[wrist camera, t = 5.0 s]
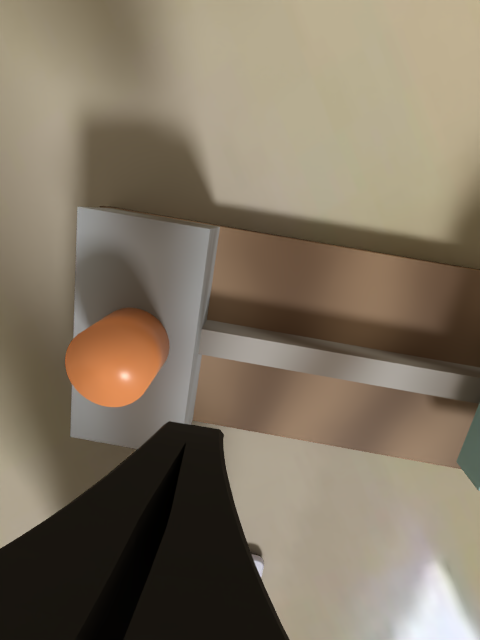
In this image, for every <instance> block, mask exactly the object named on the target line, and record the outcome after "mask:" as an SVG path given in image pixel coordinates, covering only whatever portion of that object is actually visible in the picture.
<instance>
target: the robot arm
mask: <svg viewBox="0 0 480 640" xmlns="http://www.w3.org/2000/svg"><path fill="white" fill-rule="evenodd" d="M223 437H224V434H223V433H222V432H221V430H219V429H213V428H207V427H201V426H195V425H189V424H183V423H177V422H171V421H169V422H167V423H166V424H164V425H163V426H162V427H161V428H160V429H159V430H158V431H157V432H156V433H155V434H154V435H153V436H151V437H150V438H149V439H148V440H147V441H146V442H145V443H144V444H143V445H142V446H141V447H139V448H138V449H137V450H136V451H135V452H134V453H133V454H132V455H130V456H129V457H128V458H127V459H126V460H124V461H123V462H122V463H121V464H120V465H118V466H117V467H116V468H115V469H114V470H113V471H111V472H110V473H109V474H108V475H106V476H105V477H104V478H103V479H101V480H100V481H99V482H97V483H96V484H95V485H93V486H92V487H91V488H89V489H88V490H87V491H85V492H84V493H83V494H81V495H80V496H79V497H78V498H76V499H75V500H74V501H72V502H71V503H69V504H68V505H67V506H65V507H64V508H62V509H61V510H59V511H58V512H57V513H55V514H54V515H52V516H51V517H49V518H48V519H46V520H45V521H43V522H42V523H40V524H39V525H37V526H36V527H34V528H33V529H31V530H30V531H28V532H26V533H25V534H23V535H22V536H20V537H19V538H17V539H15V540H14V541H12V542H11V543H9V544H7V545H6V546H4V547H2V548H0V640H289V638H288V636H287V634H286V632H285V630H284V628H283V626H282V624H281V622H280V620H279V618H278V616H277V613H276V611H275V609H274V607H273V604H272V602H271V600H270V598H269V596H268V593H267V591H266V589H265V587H264V584H263V582H262V579H261V576H262V572H263V568H264V560H263V559H262V558H261V557H260V556H258V555H253V554H251V552H250V549H249V547H248V544H247V541H246V538H245V535H244V532H243V529H242V526H241V523H240V520H239V517H238V514H237V510H236V507H235V504H234V500H233V496H232V492H231V488H230V484H229V480H228V475H227V471H226V465H225V459H224V450H223Z"/></svg>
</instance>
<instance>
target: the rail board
mask: <svg viewBox="0 0 480 640" xmlns="http://www.w3.org/2000/svg"><path fill="white" fill-rule="evenodd" d="M122 308H137V309H141V310H144V311H146V312H148V313H150V314H152V315H153V316H154V317H156V318H157V319H158V320H159V321H160V322H161V324H162V325H163V326H164V328H165V330H166V332H167V335H168V338H169V345H170V346H169V354H168V357H167V359H166V361H165V363H164V365H163V366H162V367H161V369H160V370H159V372H158V373H157V375H156V376H155V378H154V379H153V381H152V382H151V384H150V385H149V387H148V388H147V389H146V391H145V392H144V394H143V395H142V396H141V397H140V398H139V399H137V400H136V401H135V402H133V403H131V404H128V405H126V406H122V407H106V406H101V405H98V404H95V403H93V402H91V401H89V400H88V399H86V398H85V397H83V396H82V395H81V394H80V393H79V392H78V391H77V390H76V389H75V387H74V386H73V385H72V400H71V432H70V437H74V438H79V439H85V440H90V441H96V442H101V443H107V444H112V445H118V446H123V447H129V448H134V449H138V448H139V447H141V446H142V445H143V444H144V443H145V442H146V441H147V440H148V439H149V438H150V437H151V436H153V435H154V434H155V433H156V432H157V431H158V430H159V429H160V428H161V427H162V426H163V425H164V424H166V423H167V422H169V421H171V422H177V423H183V424H189V425H191V423H192V421H199V422H204V423H210V424H215V425H221V426H226V427H232V428H237V429H243V430H248V431H254V432H259V433H265V434H270V435H276V436H282V437H287V438H293V439H298V440H304V441H309V442H315V443H320V444H326V445H331V446H337V447H342V448H348V449H353V450H359V451H364V452H370V453H375V454H381V455H386V456H392V457H397V458H403V459H409V460H414V461H420V462H425V463H431V464H436V465H442V466H447V467H453V468H458V469H461V467H460V466H459V465H458V463H457V462H456V461H457V459H458V456H459V454H460V451H461V448H462V446H463V443H464V441H465V438H466V436H467V433H468V431H469V428H470V426H471V423H472V421H473V418H474V416H475V413H476V411H477V408H478V405H479V403H480V270H478V269H473V268H467V267H461V266H455V265H449V264H443V263H437V262H431V261H426V260H420V259H414V258H408V257H402V256H396V255H390V254H384V253H379V252H373V251H367V250H361V249H355V248H349V247H343V246H337V245H332V244H326V243H320V242H314V241H308V240H302V239H296V238H290V237H285V236H279V235H273V234H267V233H261V232H255V231H249V230H243V229H237V228H232V227H226V226H220V225H214V224H208V223H202V222H196V221H190V220H185V219H179V218H173V217H167V216H161V215H155V214H149V213H143V212H138V211H132V210H126V209H120V208H114V207H106V206H100V208H99V207H77V239H76V271H75V303H74V335H73V339H74V338H75V337H76V336H77V335H78V334H79V333H81V332H82V331H84V330H85V329H87V328H88V327H90V326H92V325H93V324H95V323H96V322H98V321H99V320H101V319H103V318H104V317H106V316H107V315H109V314H110V313H112V312H114V311H116V310H119V309H122Z"/></svg>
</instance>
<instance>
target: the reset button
mask: <svg viewBox="0 0 480 640" xmlns="http://www.w3.org/2000/svg"><path fill="white" fill-rule="evenodd" d="M169 346H170V345H169V338H168V335H167V332H166V330H165V328H164V326H163V325H162V324H161V322H160V321H159V320H158V319H157V318H156V317H154V316H153V315H152V314H150V313H148V312H146V311H144V310H141V309H137V308H122V309H119V310H116V311H114V312H112V313H110V314H109V315H107V316H106V317H104V318H103V319H101V320H99V321H98V322H96V323H95V324H93V325H92V326H90V327H88V328H87V329H85V330H84V331H82V332H81V333H79V334H78V335H77V336H76V337H75V338H74V339H73V340H72V341H71V343H70V344H69V346H68V349H67V352H66V357H65V366H66V371H67V375H68V377H69V379H70V381H71V383H72V385H73V386H74V387H75V389H76V390H77V391H78V392H79V393H80V394H81V395H82V396H83V397H85V398H86V399H88V400H89V401H91V402H93V403H95V404H98V405H101V406H106V407H122V406H126V405H128V404H131V403H133V402H135V401H136V400H137V399H139V398H140V397H141V396H142V395H143V394H144V392H145V391H146V389H147V388H148V387H149V385H150V384H151V382H152V381H153V379H154V378H155V376H156V375H157V373H158V372H159V370H160V369H161V367H162V366H163V365H164V363H165V361H166V359H167V357H168V354H169Z"/></svg>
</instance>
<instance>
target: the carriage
mask: <svg viewBox="0 0 480 640" xmlns="http://www.w3.org/2000/svg"><path fill="white" fill-rule="evenodd" d="M456 462H457V463H458V465H459V466H460V467H461V469H462V470H463V471H464V472H465V474H466V475H467V476H468V478H469V479H470V480H471V482H472V483H473V484H474V485H475V487H476V488H477V489H478V490H480V403H479V405H478V408H477V411H476V413H475V416H474V418H473V421H472V423H471V426H470V428H469V431H468V433H467V436H466V438H465V441H464V443H463V446H462V448H461V451H460V454H459V456H458V459H457V461H456Z"/></svg>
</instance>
